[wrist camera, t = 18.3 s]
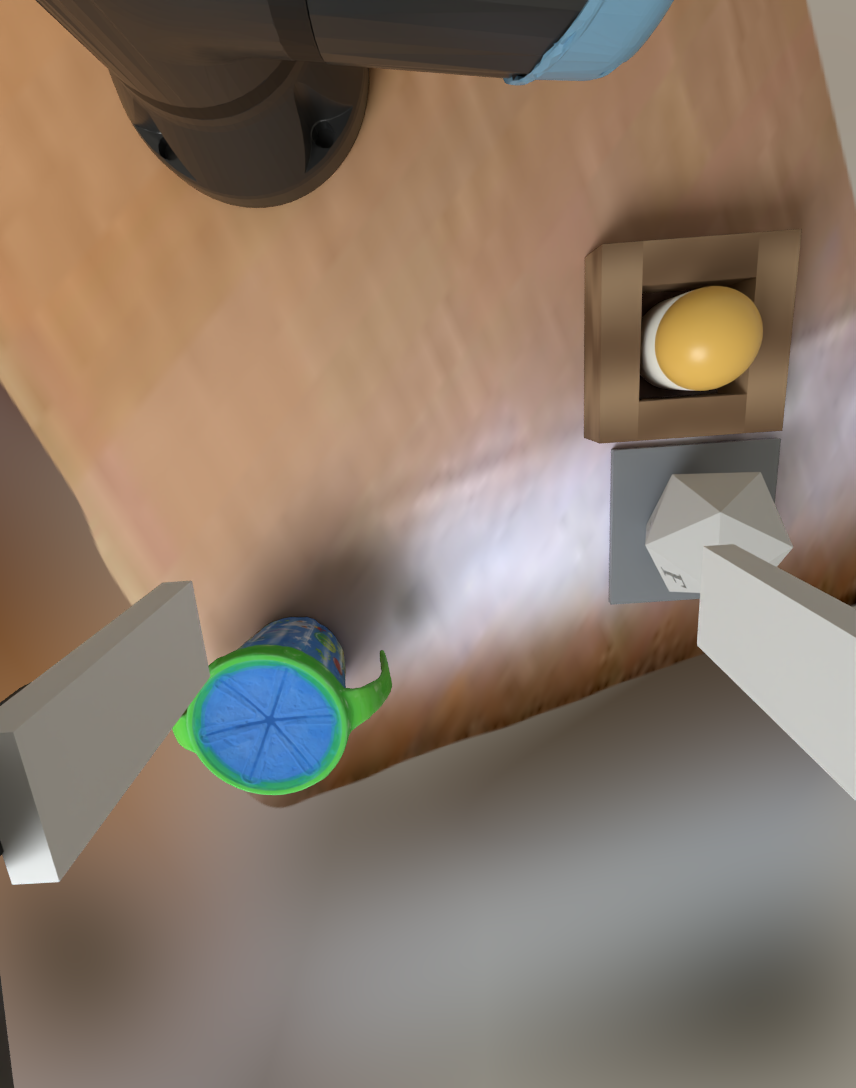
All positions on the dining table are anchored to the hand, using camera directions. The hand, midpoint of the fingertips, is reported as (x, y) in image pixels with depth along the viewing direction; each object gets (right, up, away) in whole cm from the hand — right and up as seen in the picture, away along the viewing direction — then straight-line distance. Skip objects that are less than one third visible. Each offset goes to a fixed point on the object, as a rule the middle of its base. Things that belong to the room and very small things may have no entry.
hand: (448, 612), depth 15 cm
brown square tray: (+16, +16, +25) cm, 34 cm away
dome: (+16, +15, +24) cm, 33 cm away
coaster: (+19, +3, +29) cm, 35 cm away
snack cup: (-11, -7, +32) cm, 35 cm away
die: (+19, +3, +28) cm, 34 cm away
